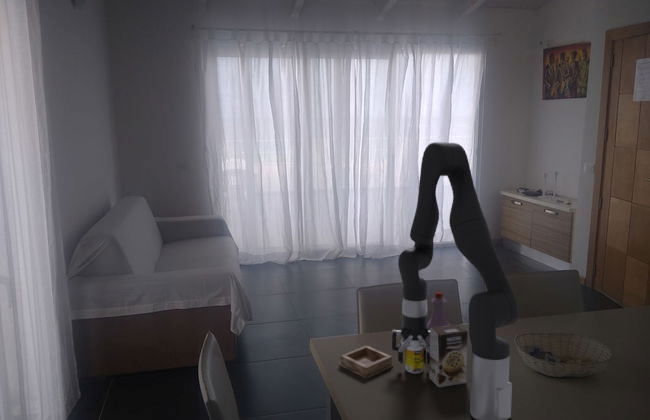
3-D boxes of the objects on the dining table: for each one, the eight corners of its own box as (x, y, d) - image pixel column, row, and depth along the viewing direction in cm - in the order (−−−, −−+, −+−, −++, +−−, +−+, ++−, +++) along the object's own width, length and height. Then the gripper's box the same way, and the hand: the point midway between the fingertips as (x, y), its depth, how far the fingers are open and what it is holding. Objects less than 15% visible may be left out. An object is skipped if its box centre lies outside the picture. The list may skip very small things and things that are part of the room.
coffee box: (438, 388, 147) (439, 335, 144) (428, 378, 153) (429, 326, 150) (467, 383, 149) (468, 331, 146) (455, 373, 155) (457, 323, 152)
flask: (473, 355, 167) (475, 296, 164) (430, 364, 161) (431, 304, 158) (444, 336, 182) (445, 282, 179) (404, 344, 176) (404, 288, 173)
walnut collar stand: (393, 366, 160) (393, 356, 160) (366, 378, 153) (366, 368, 152) (366, 354, 170) (366, 344, 169) (339, 365, 162) (339, 355, 161)
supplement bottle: (413, 376, 154) (414, 344, 152) (401, 369, 159) (401, 337, 157) (427, 370, 157) (427, 339, 155) (414, 364, 162) (414, 333, 160)
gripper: (437, 307, 158) (436, 357, 161) (390, 307, 159) (390, 356, 162) (440, 316, 150) (439, 368, 153) (391, 316, 152) (391, 367, 154)
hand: (414, 362), depth 157 cm, fingers open, 7 cm apart
